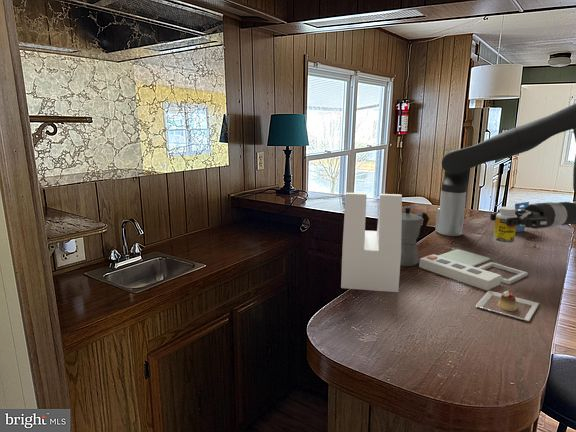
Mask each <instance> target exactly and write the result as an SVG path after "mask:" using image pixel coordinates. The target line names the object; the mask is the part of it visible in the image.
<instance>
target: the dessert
mask: <svg viewBox="0 0 576 432" xmlns="http://www.w3.org/2000/svg"><path fill="white" fill-rule="evenodd" d="M493 296H494V297H498V298H499V300H498V302H497V304H496V305H497V307H498V308H499V309H502V310H504V311H509V312H510V311H511V312H513V311H517V310H518V305H517V302H518V303H521V304H525V305H528V306H531V307H530V308H529V310H528V312H527V314H525V316H524V318H523V317H518V316H516V315H511V314H508V313H504V312H500V311H497V310H494V309H490V308H486V307H484V306H485V304H486V303H487V302H488V301H489V300H490V298H491V297H493ZM539 305H540V302H536V301H532V300H528V299H524V298H520V297H517V296H514V293H511V290H510V289H508V290H506V291H504V292H503V293H501V292H496V291H493V290H487V292H486V293H485V294H484V295H483V296H482V297H481V298H480V299H479V300H478V302H477V303H476V304H475V305H474V306H475V307H477V308H479V309H482V310H485V311H489V312H492V313H493V312H494V313H496V314H500V315H504V316H507V317H510V318H514V319H517V320H521V321H524V322H530V321H531V319H532V317H533V315H534V313H535V312H536V311H537V309H538V306H539Z"/></svg>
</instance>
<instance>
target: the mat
mask: <svg viewBox="0 0 576 432" xmlns="http://www.w3.org/2000/svg"><path fill="white" fill-rule="evenodd" d="M438 256H441V257H444V258H447V259H451V260H454V261H457V262H460V263H463V264H467V265H470V266H473V267H476V266H480V265H481V264H483V263H487V262H489V261H491V259H492V258H490V257H488V256H483V255H480V254H477V253H473V252H469V251H466V250H462V249H459V248H456V249H453V250H450V251H447V252H445V253H441V254H439V255H438Z"/></svg>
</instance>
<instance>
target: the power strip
mask: <svg viewBox="0 0 576 432" xmlns="http://www.w3.org/2000/svg"><path fill="white" fill-rule="evenodd" d="M418 264H419V266H418V268H420V269H424V270H426V271H430V272H432V273H434V274H435V273H436V274H438V275H441V276H444V277H447V278H450V279H451V280H452V279H453V280H455V281H459V282H461V283H464V284H467V285H469V286H472V287H475V288H478V289H481V290H485V291H490V290H492V289H494V288H496V287H498V286H500V285H501V282H500V281H501V277H502V275H501V274H499V273H497V272H496V273H495V272H492V271H489V270H487V269H485V270H483V269H480V268H478V267H476V266H474V267H473V266H470V265H467V264H463V263H460V262H457V261H454V260H451V259H447V258H444V257H441V256H438V255H437V254H434V253H433V254H430V255H426V256H423V257H421V258H419V262H418Z"/></svg>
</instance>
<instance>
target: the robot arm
mask: <svg viewBox="0 0 576 432" xmlns="http://www.w3.org/2000/svg"><path fill="white" fill-rule="evenodd" d="M571 130H572V131H573V135H574V141H575V142H576V102H575V103H573V104H571V105H569V106H567V107H565V108H563V109H560V110H558V111H555V112H554V113H552V114H549V115H547V116H544V117H541V118H538V119H535V120H532V121H530V122H528V123H524V124H522V125H518V126H516V127H513V128H511V129H507V130H505V131H503V132H502V131H501V132H500V133H498V134H496V135H493V136H491V137H489V138H487V139H486V140H483V141H481V142H479V143H477V144H474V145H471V146H467V147H464V148H460V149H459V148H456V149H453V150H450V151H448V152H447V153H445V155H444V156H443V157H442V161H441V167H442V169H443V171H444V176H443V180H442V183H441V188H440V189H441V190H440V200H439V208H437V211H436V217H435V218H436V219H435V231H434V232H436V233H438V234H440V235H444V236H450V237H457V236H458V237H459V236H461V235H462V234H463V226H464V225H463V224H464V216H465V211H466V210H465V207H466V200H467V199H466V197H467V190H468V189H467V188H468V185H469V180H470V171H471V169H472V168H474V167H476V166H480V165H482V164H486V163H489V162H493V161H494V162H495V161H498V160H503V159H506V158H509V157H513V156H516V155H520V154H523V153H526V152H528V151H531V150H532V149H534V148H537V147H538V146H539V145H540V144H542V143H543V142H545V141H547V140H548V139H550V138H551V137H554V136H555V135H558V134H561V133H563V132H567V131H571ZM572 173H573V174H572V176H573V177H572V188H573V192H574V194H576V155H575V157H574V163H573V172H572ZM498 213H500V208H499V209H497V211H496V212H491V213H490V218H489V219H490V221H494V222H495V220H496V215H497V214H498ZM515 215H516V216H517V217H513V218H507V222H506V225H507V226H515V225H519V226H525V228H527V229H528V228H530V229H533V230H537V229H546V228H547V229H549V228H554V227H558V226H559V227H560V226H568V225H576V201H574V202H571V201H562V202H560V201H559V202H552V201H551V202H550V201H549V202H548V201H547V202H537V203H529V205H528V206H527V207H526V208H525V209H519V210H515Z"/></svg>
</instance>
